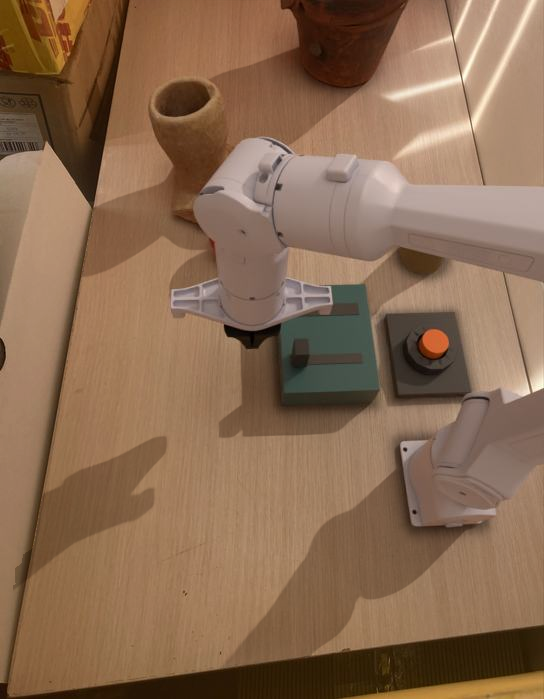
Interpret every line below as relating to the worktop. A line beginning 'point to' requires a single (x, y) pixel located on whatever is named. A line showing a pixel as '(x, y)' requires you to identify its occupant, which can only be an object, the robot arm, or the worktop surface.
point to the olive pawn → (420, 261)
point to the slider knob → (300, 352)
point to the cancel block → (419, 371)
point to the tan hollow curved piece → (190, 135)
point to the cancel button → (433, 344)
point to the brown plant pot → (344, 36)
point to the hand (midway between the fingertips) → (251, 340)
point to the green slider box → (331, 353)
